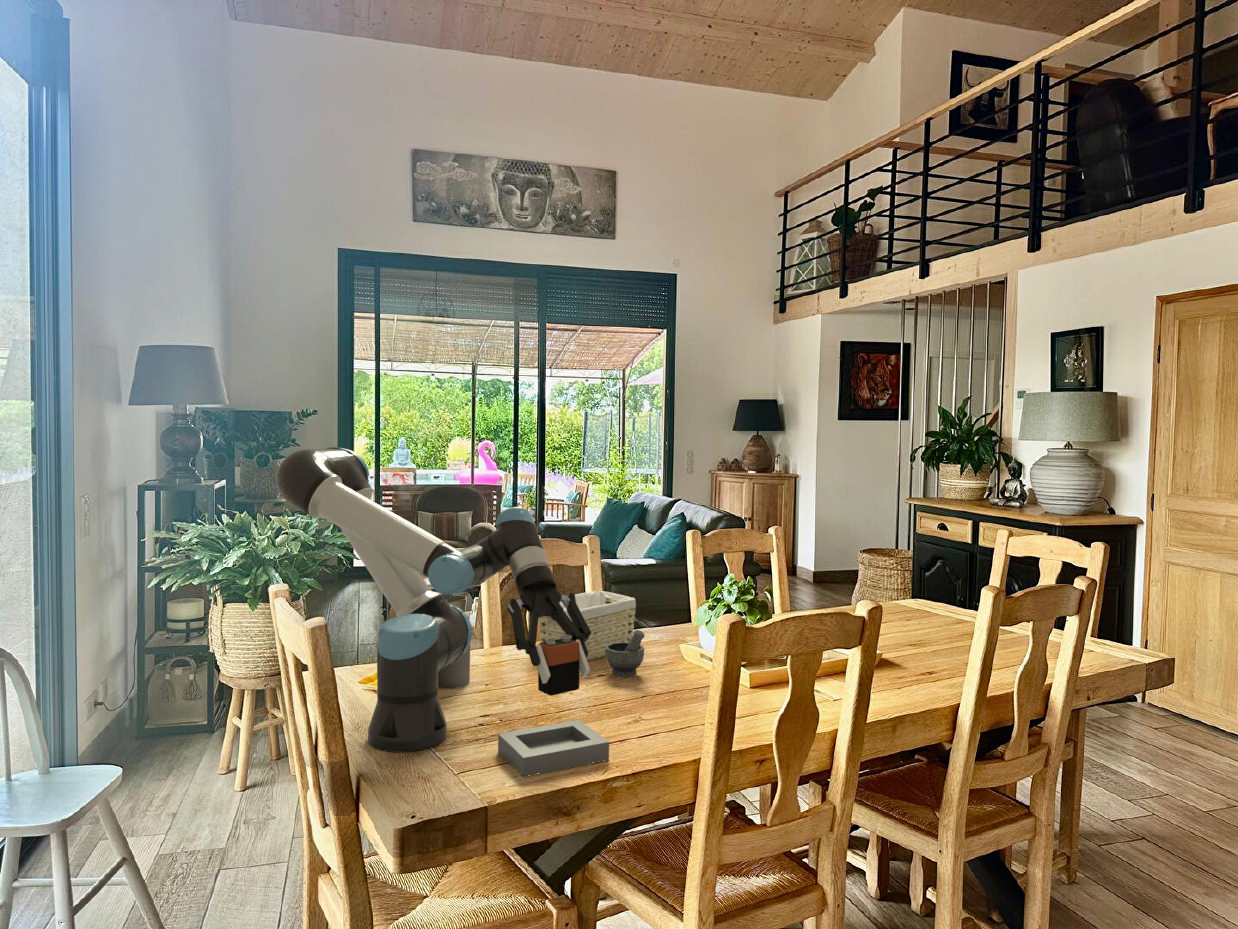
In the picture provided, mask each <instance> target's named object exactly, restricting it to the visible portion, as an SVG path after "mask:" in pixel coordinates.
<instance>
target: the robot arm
mask: <svg viewBox="0 0 1238 929" xmlns="http://www.w3.org/2000/svg"><path fill="white" fill-rule="evenodd" d="M369 476H370V471H369V467H368V466H367V462H365V460H364V459H363V458H362V457H361V455H359V454H358V453H356V452H355V451H353V450H351V449H349V448H348V449H347V448H342V447H338V446H337V447H335V446H332V447H326V448H313V449H309V448H308V449H305V448H304V449H299V450H296V451H294V452H291V453H290V454H289V455H287V456H286V457H285V458H284V459H283V460H282V461H281V462H280V465H279V466H278V469H277V472H276V477H275V478H276V486H277V488H278V489H277V490H278V491H279V493H280V494H281V496H282V497H283V499H284V500H286V502H287V503H289V504H290V505H291V506H292V507H294V508H296V509H297V510H299V511H301V512H302V513H304V514H306V515H308V516H309V517H311V518H313V519H318V518H321V517H322V518H324V519H325V520H326V521H329V522H330V523H332V524H334V525H336V526H337V527H339V528H340V530H341V532H342V533H343V535H344V536H345V537H346V539H347V541H348V542H349V543H350V545H351V547H352V548H353V550H354V551H355V553H356V555H357V556H358V557H359V559H360V560H361V561H362V563H363V565H364V566H365V568H366V569H367V571H368V572H369V573H370V576H371V577H372V579H373V580H374V582H375V584H376V585H377V586H378V588H379V589H380V591H381V593H382V594H383V596H384V597H385V598H386V600H387V602H388V603H389V605H390V606H391V607H392V609H393V611H394V612H395V614H396V616H394V617H392V618H389V619H387V620H386V621H384V622H383V623H381V625H380V626H379V627H378V631H377V640H376V644H375V646H376V667H377V668H376V669H377V670H376V671H377V672H376V674H377V676H376V681H377V682H376V685H377V686H376V687H377V691H376V692H377V694H376V695H377V698H376V699H377V700H376V705H375V707H374V711H373V714H372V717H371V720H370V723H369V725H368V729H367V742H368V744H369V745H370V746H371V747H372V748H375V749H377V750H380V749H381V751H384V750H386V751H385V752H393V751H395V752H394V753H397V752H398V753H399V751H406V752H413V751H414V750H416V751H420V750H425V749H428V748H431V747H434V746H437V745H439V744H441V743H442V742H443V741H445V740H446V738H447V736H448V725H447V724H448V722H447V720H446V718H445V714H444V712H443V708H442V706H441V702H440V700H439V699H440V698H439V688H438V671H440V670H441V669H443V668H444V667H446V666H447V665H449V664H451V663H453V662H455V661H456V660H457V659H459V658H460V657H461V656H462V655H463V654H464V653H465V651H466V650H467V649H468V647H469V645H470V646H471V641H472V637H473V627H472V622H471V620H470V618H469V617H468V615H467V614H466V613H465V611H464V610H462V609H461V608H460V607H457V606H454V605H451V604H450V603H449V602H448V600H447V599H446V597H445V596H444V595H447V596H448V595H449V596H450V595H454V594H458V593H462V592H464V591H466V590H468V589H470V590H471V589H474V588H475V587H477V586H479V585H482V584H484V583H485V582H487V580H488V579H490V578H492V577H493V576H495V575H496V574H497V573H500V571H502V570H504V569H505V568H507V567H509V568H510V571H511V574H512V576H513V579H514V584H515V586H516V590H517V593H518V596H519V599H515V598H511V599H510V600H509V603H508V605H507V611H508V613H509V615H510V617H511V621H512V627H513V634H514V635H513V636H514V640H515V647H516V650H518V651H523V650H525V651H524V652H525V654H526V655H528V656H529V659H530V663H531V665H532V666H533V667H537V671H539V674H540V677H541V680H542V683H543V684H544V683H547V681H548V679H549V678H550V676H551V675H550V672H549V669H548V666H547V663H546V660H545V657H544V653H543V650H542V647H541V644H540V645H538V644H537V637H538V636H537V635H538V626H539V618H540V617H543V616H550V617H551V618H552V619H553V620H554V621H556V622H557V623H558V624H559V626H560V627H561V628H562V629H563V631H564V632H565V633H566V634H567V635H570V636H572V638H571V640H574V641H577V642H579V674H580V676H581V678H583V679H584V678H586V677H587V675H588V674H589V672H590V671H591V668H590V665H589V662H588V661H587V659H586V658H587V656H588V651H587V648H586V645H585V642H586V641H587V640H588V638H589V636H590V635H591V631H590V629H589V627H588V625H587V624H586V622H585V620H584V618H583V616H582V614H581V612H580V610H579V608H578V606H577V604H576V600H575V595H576V594H574V593H573V592H570V593H569V594H568V595H566V594H562V593H561V592H560V591H559V590H558V588H557V585H556V581H555V578H554V575H553V571H552V570H551V567H550V564H549V561H548V558H547V555H546V552H545V550H544V547H543V544H542V542H541V538H540V535H539V533H538V529H537V527H538V526H537V524H536V523H535V521H534V519H533V517H532V515H531V513H530V511H529V510H528V509H527V508H524V507H521V506H512V507H508V508H506V509H505V510H503V511H501V512H500V513H499V515H498V516H497V518H496V521H495V522H496V529H495V530H494V531H493V532H492V533H490V534H489V535H488V536H486V537H484V538H483V539H481V540H480V541H477V543H475V544H473V545H470V546H468V547H465V548H461V549H458V548H456V547H454V546H453V545H450V544H449V543H446V542H445V541H443V540H442V539H441V538H439V537H436V536H435V535H433V534H431V533H429V532H428V531H425V529H422V527H419V526H417V525H415V524H413V523H412V522H411V521H409V520H407V519H405V518H403V517H401V516H400V515H398V514H396V513H394V512H393V511H391V510H389V509H387V508H385V507H384V506H381V505H380V504H378V503H376V502H374V501H372V496H373V492H374V489H373V488H372V486H371V485H370V483H369V482H370V480H369ZM422 575H423V576H425V577H427V578H428V582H429V584H430V585H431V587H432V588H433V590H434V591H433V590H432V589H431V588H430V587H429V585H428V584H427V582H426V581H425V580H424V577H423V576H422ZM560 602H562V603H563V604H564V607H566V609H567V612H568V614H569V616H570V618H571V620H572V621H571V620H570V618H569V617H568V616H567V615H566V614H565V612H564V611H563V607H562V606H561V605H560V604H559V603H560ZM522 608H523V609H524V610H526V611H527V612H528V613H529V616H528V630H527V639H526V633H525V626H524V625H525V624H524V620H523V613H522ZM396 751H397V752H396ZM414 752H415V751H414Z"/></svg>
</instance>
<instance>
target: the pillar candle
mask: <svg viewBox="0 0 1238 929" xmlns="http://www.w3.org/2000/svg"><path fill="white" fill-rule="evenodd" d="M470 668H471V644H470V645H469V647H468V649H467V650H466V651H465V653H464V654H463V655H462V656H461V657H460V658H459V659H457V660H456V661H455V662H453V663H451V664H449V665H447V666H446V667H444V668H443V669H441V670H440V671H438V689H444V688H445V689H446V688H447V690H448V689H457V688H456V687H458V688H462V687H465V686H467V685H469V684H470V681H471V679H470V677H471V676H470V674H471V673H470V672H471V669H470ZM468 683H469V684H468Z"/></svg>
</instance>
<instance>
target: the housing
mask: <svg viewBox="0 0 1238 929" xmlns="http://www.w3.org/2000/svg"><path fill="white" fill-rule="evenodd" d="M497 738H498V739H497V752H498V753H499V754H500V755H501V756H502V758H504V759H505V760H506V761H507V762H508V764H509V765H511V767H513V768H514V769H515V770H516V771H517V772H518V773H519V774H520V773H521V774H522V775H523V776H527V777H529V776H528V775H532V776H535V775H534V774H537V773H543V774H547V773H551V772H552V771H553V772H556V770H558V771H560V769H563V770H566V769H565V768H568V769H570V768H569V767H573V768H577V766H578V767H581V766H580V765H583V766H585V765H584V764H588V763H592V762H598V761H603V760H608V761H610V740H609V741H608V740H607V739H606V738H605V737H603V736H602V735H601V734H599V733H598V732H596V731H595V730H593V729H592V728H591V727H590V726H588V725H587V724H585V723H584V722H583V721H582V720H580V719H576V720H570V721H565V722H558V723H554V724H553V723H552V724H548V725H541V726H536V727H528V728H522V729H517V730H511V731H506V732H500V733H497ZM603 762H604V761H603ZM598 763H599V762H598ZM588 765H589V764H588ZM521 774H520V775H521ZM522 775H521V776H522ZM523 776H522V777H523Z"/></svg>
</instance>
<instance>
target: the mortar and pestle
mask: <svg viewBox="0 0 1238 929" xmlns="http://www.w3.org/2000/svg"><path fill="white" fill-rule="evenodd" d="M644 638H645V633H644V632H643V631H642V630H639V629H636V630H633V637H632V639H631V640H630V642H629V643H628V642H619V643H611V644H609V645H606V646H605V653H606V656H605V658H606V661H607V663H608V665H609V666H610V668H612V669H611V675H612V677H615V676H616V677H615V678H618V677H620V678H619V679H629V678H628V677H631V678H635V677H636V676H638V674H637V668H639V667H640V666H641V664H642V663H643V661H644V655H645V648H644V647H645V646H644V645H642V644H641V643H642V640H643V639H644ZM635 675H636V676H635Z"/></svg>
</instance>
